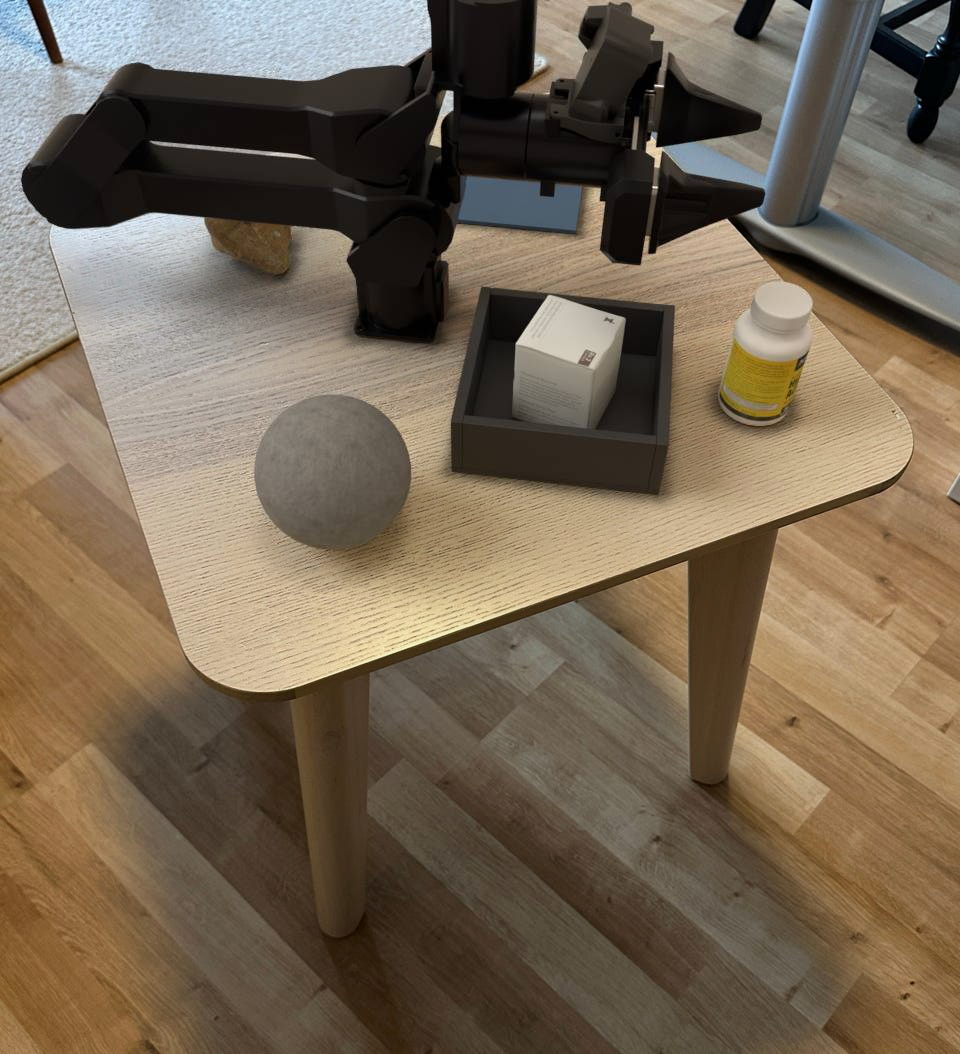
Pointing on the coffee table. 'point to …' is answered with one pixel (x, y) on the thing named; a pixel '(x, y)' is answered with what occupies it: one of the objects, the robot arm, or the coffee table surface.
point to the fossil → (252, 243)
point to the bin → (552, 450)
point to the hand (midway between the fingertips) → (762, 158)
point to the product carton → (567, 364)
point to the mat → (520, 205)
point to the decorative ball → (332, 472)
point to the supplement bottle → (767, 355)
